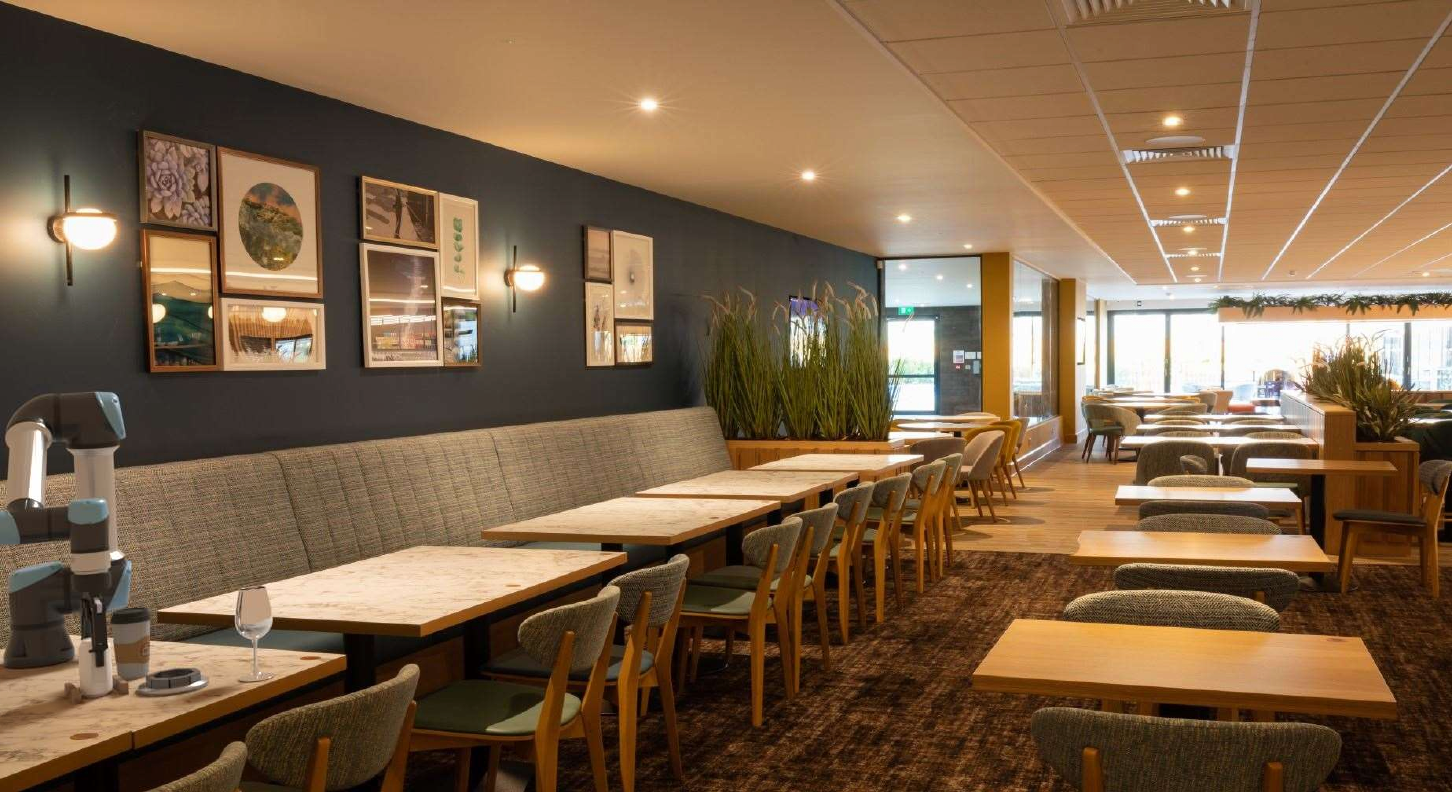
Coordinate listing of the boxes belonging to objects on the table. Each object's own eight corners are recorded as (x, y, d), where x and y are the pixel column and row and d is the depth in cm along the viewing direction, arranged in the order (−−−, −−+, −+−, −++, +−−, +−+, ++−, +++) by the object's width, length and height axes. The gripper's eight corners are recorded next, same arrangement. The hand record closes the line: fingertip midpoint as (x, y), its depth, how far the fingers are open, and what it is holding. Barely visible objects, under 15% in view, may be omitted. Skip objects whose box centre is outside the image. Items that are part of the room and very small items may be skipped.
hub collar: (131, 687, 268) (130, 673, 268) (198, 675, 277) (197, 662, 277) (147, 699, 257) (146, 685, 257) (217, 686, 266) (216, 673, 266)
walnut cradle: (64, 695, 263) (64, 683, 263) (117, 685, 270) (117, 674, 270) (74, 704, 256) (74, 692, 256) (128, 694, 262) (128, 682, 262)
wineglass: (266, 671, 278) (262, 583, 278) (281, 676, 273) (277, 587, 272) (231, 678, 273) (227, 588, 273) (246, 684, 267) (242, 592, 267)
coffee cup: (137, 681, 273) (134, 614, 273) (104, 680, 275) (101, 614, 275) (161, 672, 282) (158, 606, 281) (129, 671, 283) (126, 606, 283)
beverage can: (79, 700, 259) (76, 643, 258) (81, 693, 264) (79, 637, 264) (112, 696, 261) (109, 639, 261) (113, 689, 267) (111, 634, 267)
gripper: (62, 568, 267) (67, 674, 268) (81, 578, 252) (86, 690, 253) (100, 564, 272) (105, 668, 273) (120, 573, 257) (126, 683, 258)
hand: (96, 678), depth 263 cm, fingers closed on beverage can, 6 cm apart
